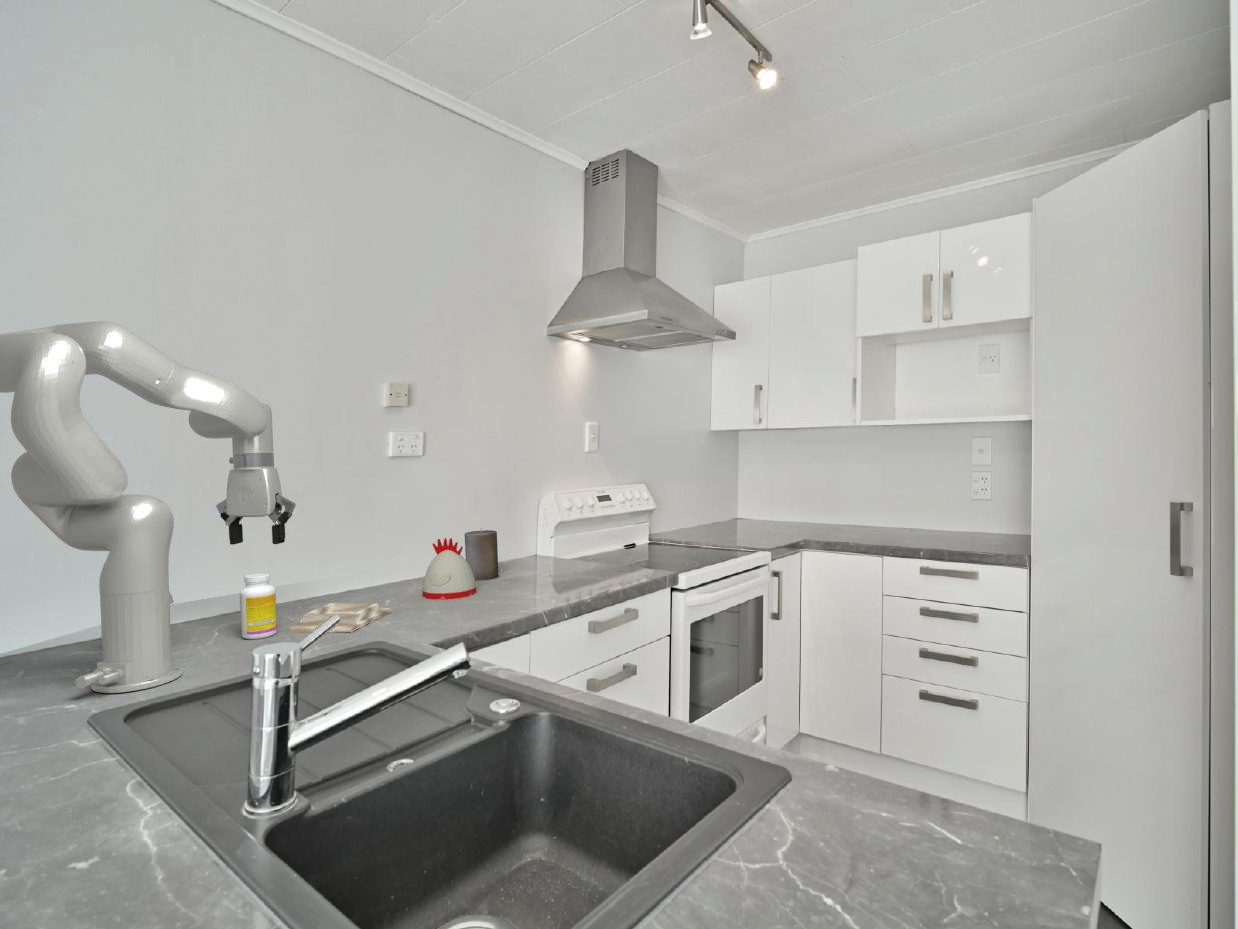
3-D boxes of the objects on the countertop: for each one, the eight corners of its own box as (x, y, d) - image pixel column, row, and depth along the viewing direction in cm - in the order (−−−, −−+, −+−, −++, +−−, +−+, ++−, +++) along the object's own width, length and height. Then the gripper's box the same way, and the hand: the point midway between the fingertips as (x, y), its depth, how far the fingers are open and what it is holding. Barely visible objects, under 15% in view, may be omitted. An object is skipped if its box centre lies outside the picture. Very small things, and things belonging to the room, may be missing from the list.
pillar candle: (503, 574, 206) (501, 525, 206) (491, 580, 196) (489, 529, 196) (473, 574, 208) (471, 526, 208) (460, 580, 198) (458, 529, 198)
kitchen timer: (435, 588, 187) (434, 535, 187) (483, 588, 185) (481, 534, 185) (413, 599, 174) (412, 541, 173) (464, 600, 172) (463, 541, 171)
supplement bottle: (283, 634, 142) (281, 573, 142) (252, 641, 137) (250, 579, 136) (265, 630, 146) (263, 571, 146) (234, 637, 140) (232, 576, 140)
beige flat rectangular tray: (351, 633, 142) (350, 618, 142) (290, 632, 144) (289, 618, 144) (391, 612, 160) (391, 599, 159) (336, 611, 161) (336, 599, 161)
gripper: (203, 463, 138) (207, 546, 139) (280, 462, 136) (284, 546, 136) (228, 462, 146) (232, 541, 146) (302, 460, 143) (306, 540, 144)
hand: (257, 543), depth 141 cm, fingers open, 9 cm apart
